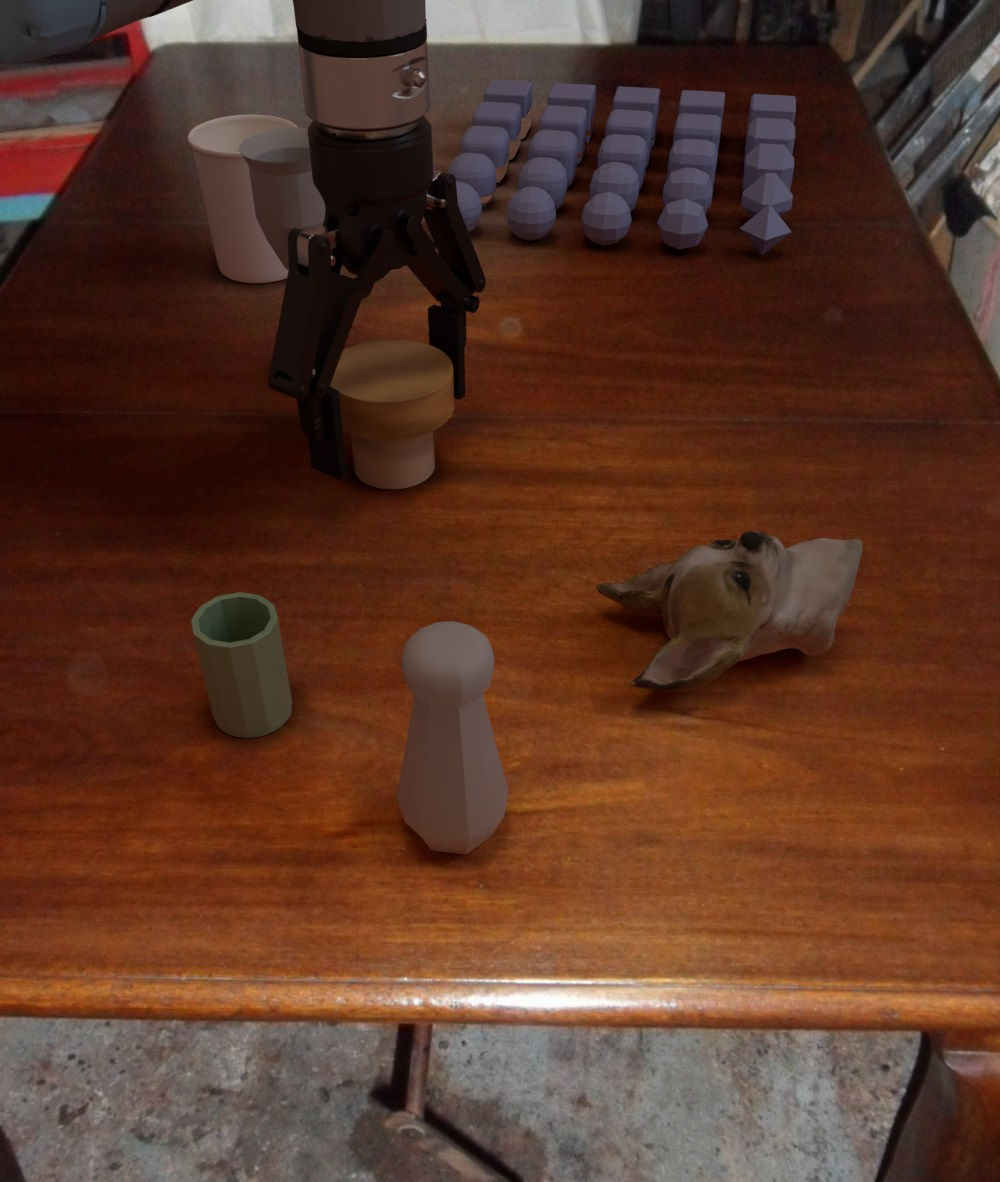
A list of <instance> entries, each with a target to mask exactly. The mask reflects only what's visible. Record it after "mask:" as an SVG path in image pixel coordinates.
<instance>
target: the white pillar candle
mask: <svg viewBox="0 0 1000 1182" xmlns="http://www.w3.org/2000/svg"><path fill="white" fill-rule="evenodd" d="M434 438H435V436H434V431H432V432H430V433H427V434H424V435H422V436H418V437H414V438H409V439H403V440H391V441H384V440H371V439H365V438H361V437H357V436H354V435H351V434H350V439H351V440H350V441H351V450H352V461H353V470H354V474H355V476H356V477H357V478H358V479H359V480H360V481H361V482H362V483H364V484H365V485H367V486H370V487H373V488H376V489H382V490H403V489H409V488H412V487H415V486H417V485H418V486H419V485H420V484H422V483H424V482H425V481H426V480H428V479H429V478H431V476H432V474H433V473H434V471H435V469H436V460H435V459H436V458H435V439H434Z"/></svg>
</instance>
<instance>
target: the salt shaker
mask: <svg viewBox="0 0 1000 1182" xmlns="http://www.w3.org/2000/svg"><path fill="white" fill-rule="evenodd" d="M493 650H494V649H493V647H492V645H491V643H490V641H489V638H488V636H487V635H486V634H484V633H483V632H481V631H480V630H478V629H477V628H476V627H474V626H472V625H470V624H466V623H464V622H458V621H455V620H449V621H437V622H435V623H431V624H428V625H426V626H423V627H421V628H419V629H418V630H417V631H415V632H414V633H413V634H412V635H411V636H410V637H409V638H408V639H407V640H406V642H405V646H404V648H403V652H402V656H401V662H400V665H401V670H402V675H403V678H404V680H405V683H406V685H407V688H408V689H409V691H410V693H411V694H413V701H412V708H411V713H410V719H409V725H408V729H407V736H406V741H405V747H404V753H403V758H402V759H403V760H402V765H401V769H400V775H399V781H398V786H397V793H396V799H395V800H396V801H397V803H398V807H399V810H400V812H401V815H402V818H403V820H404V823H405V824H406V825H407V826H408V827H409V828H410V829H412V831H414V832H415V833H416V834H417V835H418V836H420V838H421V839H422V840H423V842H425V844H426V845H427V847H428V848H429V849H430V850H431V851H432V852H439V853H448V854H458V855H468V854H469V853H471V852H472V851H473V850H474V849H475V848H477V847H478V846H480V845H482V844H483V843H484V842H485V841H487V840H489V838H491V837H492V836H493V834H494V833H495V831H496V830H497V828H498V827H499V825H500V824H501V823H502V820H503V819H504V818H505V815H506V810H507V803H508V800H509V799H508V798H509V793H510V790H509V787H508V786H509V785H508V782H507V779H506V776H505V771H504V768H503V764H502V761H501V757H500V754H499V749H498V745H497V742H496V738H495V735H494V731H493V728H492V723H491V720H490V716H489V713H488V712H489V711H488V709H487V705H486V700H485V697H484V694H485V692H486V691H488V689H489V688H490V687H491V684H492V680H493V676H494V670H495V654H494V651H493Z"/></svg>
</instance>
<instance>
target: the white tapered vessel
mask: <svg viewBox="0 0 1000 1182" xmlns="http://www.w3.org/2000/svg"><path fill="white" fill-rule="evenodd" d="M283 128H299V127H298V126H297V124H295V123H294V122H293V121H291V120H288V119H286V118H283V117H278V116H276V115H275V116H274V115H268V114H237V115H236V114H235V115H228V116H221V117H217V118H214V119H213V118H212V119H210V120H206V121H204V122H202V123H199V124H197V125H196V126H194V127H193V128H192V129H191V130H190V131H189V132H188V134H187V143H188V145H189V150H190V152H191V156H192V162H193V166H194V169H195V170H194V171H195V175H196V178H197V179H196V180H197V183H198V187H199V192H200V197H201V200H202V201H201V202H202V204H203V209H204V214H205V219H206V222H207V226H208V231H209V237H210V240H211V244H212V248H213V252H214V257H215V260H216V264H217V267H218V270H219V272H220V273H221V274H222V275H223V276H224V277H225V278H227V279H229V280H231V281H235V282H239V283H243V284H244V283H245V284H268V283H269V284H270V283H275V282H280V281H283V280H287V276H288V271H289V270H287V269H286V268H285V267H284V266H283V264H282V263H281V261H280V260H279V258H278V256H277V255H276V253H275V252H274V250H273V249H272V247H271V246H270V244H269V243H268V241H267V239H266V237H265V235H264V233H263V231H262V229H261V227H260V225H259V223H258V221H257V219H256V215H255V208H254V201H253V194H252V187H251V180H250V173H249V166H248V164H247V162H246V161H245V159H244V158H243V156H242V155H241V153H240V152H239V145H240V144H241V143H242V142H243V141H244V140H245V139H247V138H249V137H251V136H253V135H256V134H259V133H262V132H265V131H270V130H276V129H283Z"/></svg>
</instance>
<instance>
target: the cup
mask: <svg viewBox="0 0 1000 1182" xmlns="http://www.w3.org/2000/svg"><path fill="white" fill-rule="evenodd" d="M190 623H191V629H192V634H193V639H194V643H195V647H196V651H197V655H198V659H199V664H200V668H201V672H202V676H203V680H204V681H203V682H204V685H205V688H206V692H207V697H208V701H209V705H210V710H211V714H212V718H213V720H214V723H215V725H216V726H217V728H219V729H220V730H221V731H223V732H224V733H225V734H227V735H229V736H232V737H235V738H241V739H251V738H253V739H254V738H260V737H263V736H266V735H270V734H271V733H274V732H275V731H277V730H279V729H280V728H281V727H282V726H283V725H285V724H286V723H287V721H289V719H290V717H291V714H292V712H293V698H292V691H291V687H290V679H289V675H288V674H289V673H288V668H287V662H286V656H285V650H284V645H283V640H282V634H281V628H280V627H281V626H280V621H279V616H278V613H277V608H276V605H275V604H274V603H272V602H271V601H269V600H268V599H267V598H265V597H264V596H262V595H260V594H256V593H255V594H254V593H249V592H242V591H239V592H233V593H227V594H222V595H217V596H215V597H213V598H212V599H210V600H208V601H207V602H204V603H203V604H202V605H200V606H199V607H198V609H197V610H196V611H195V613H194V615H193V616H192V618H191V619H190Z"/></svg>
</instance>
